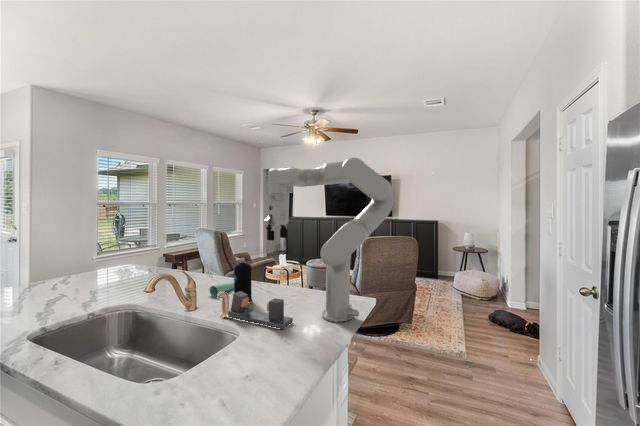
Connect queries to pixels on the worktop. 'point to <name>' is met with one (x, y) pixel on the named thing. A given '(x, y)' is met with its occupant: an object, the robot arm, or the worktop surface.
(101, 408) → the worktop surface
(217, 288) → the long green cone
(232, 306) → the dark grey block
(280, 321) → the rail
